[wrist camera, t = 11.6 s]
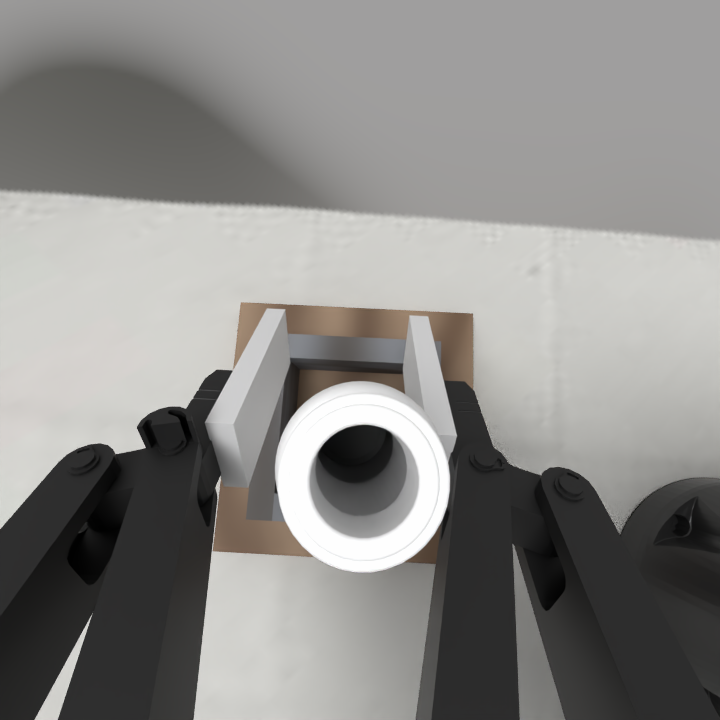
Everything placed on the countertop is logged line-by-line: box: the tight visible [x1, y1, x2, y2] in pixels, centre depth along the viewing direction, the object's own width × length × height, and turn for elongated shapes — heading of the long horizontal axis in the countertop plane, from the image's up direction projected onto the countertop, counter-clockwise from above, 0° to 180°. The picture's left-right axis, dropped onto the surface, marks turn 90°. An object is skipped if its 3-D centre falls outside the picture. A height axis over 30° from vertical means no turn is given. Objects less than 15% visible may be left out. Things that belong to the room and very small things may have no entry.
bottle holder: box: [213, 302, 473, 564], centre depth 25 cm, size 18×18×6 cm
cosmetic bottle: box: [275, 381, 450, 573], centre depth 15 cm, size 6×6×22 cm
